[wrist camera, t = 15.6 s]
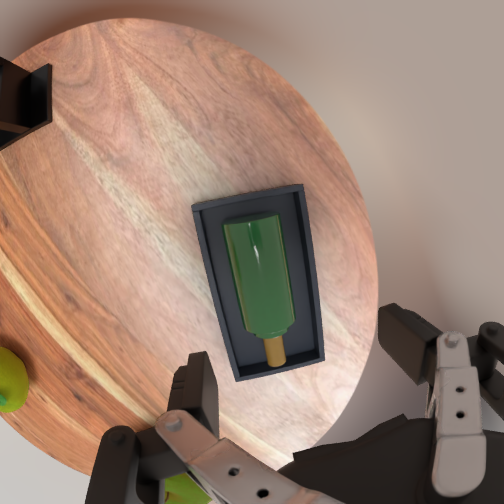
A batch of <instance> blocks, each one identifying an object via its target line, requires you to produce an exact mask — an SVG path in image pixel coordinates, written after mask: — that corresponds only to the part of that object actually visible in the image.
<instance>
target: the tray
mask: <svg viewBox="0 0 504 504" xmlns="http://www.w3.org/2000/svg"><path fill="white" fill-rule="evenodd" d="M191 208H192V212H193V217H194V222H195V226H196V231H197V235H198V240H199V244H200V248H201V253H202V257H203V261H204V265H205V270H206V274H207V278H208V282H209V286H210V290H211V294H212V298H213V302H214V306H215V309H216V313H217V317H218V321H219V325H220V328H221V332H222V336H223V339H224V343H225V346H226V350H227V354H228V357H229V361H230V364H231V367H232V371H233V374H234V378H235V381H236V382H239V381H244V380H249V379H254V378H259V377H263V376H268V375H272V374H276V373H281V372H285V371H289V370H293V369H297V368H300V367H304V366H308V365H311V364H315V363H319V362H322V361H325V353H324V340H323V329H322V318H321V309H320V299H319V290H318V282H317V273H316V265H315V258H314V250H313V243H312V236H311V229H310V223H309V216H308V210H307V204H306V198H305V192H304V186H303V184H294V185H288V186H282V187H277V188H271V189H266V190H260V191H255V192H249V193H244V194H239V195H234V196H229V197H224V198H219V199H215V200H210V201H205V202H201V203H196V204H193V205H192V206H191ZM262 212H279V213H280V217H281V223H282V229H283V235H284V241H285V247H286V253H287V259H288V265H289V272H290V278H291V285H292V291H293V298H294V305H295V312H296V320H295V322H294V323H293V324H292V325H291V326H289V329H288V331H287V332H286V333H285V334H283V335H282V336H283V342H284V348H285V354H286V362H285V363H284V364H283V365H281V366H277V367H273V366H270V365H269V364H268V363H267V358H266V353H265V349H264V344H263V339H261V338H258V337H256V336H255V335H254V334H253V333H250V332H248V331H246V330H245V329H244V328H243V325H242V320H241V316H240V312H239V307H238V303H237V298H236V294H235V290H234V285H233V281H232V276H231V271H230V267H229V262H228V258H227V253H226V248H225V244H224V239H223V234H222V229H221V223H222V222H224V221H226V220H229V219H233V218H236V217H240V216H245V215H250V214H256V213H262Z"/></svg>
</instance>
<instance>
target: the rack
mask: <svg viewBox="0 0 504 504" xmlns="http://www.w3.org/2000/svg"><path fill="white" fill-rule="evenodd" d="M51 80H52V65H50V64H49V63H48V64H46V65H44V66H42V67H41V68H39V69H37V70H35V71H34V72H32V73H30V72H28V71H26V70H25V69H23V68H21V67H19V66H17V65H15V64H13V63H12V62H10V61H8V60H6V59H4V58H2V57H0V151H1V150H2V149H4V148H5V147H7V146H9V145H10V144H12V143H14V142H15V141H17V140H19V139H20V138H22V137H24V136H26V135H28V134H29V133H31V132H33V131H35V130H37V129H39V128H41V127H42V126H44V125H46V124H48V123H50V122H52V105H51Z"/></svg>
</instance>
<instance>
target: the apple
mask: <svg viewBox="0 0 504 504" xmlns="http://www.w3.org/2000/svg"><path fill="white" fill-rule="evenodd" d="M212 500H213V499H212V498H211V497H210V496H208V495H207V494H206V493H205V492H204V491H203V490H202V489H201V488H200V487H199V486H198V485H197V484H196V483H195V482H194V481H193V480H192V479H191V478H190V477H189V476H188V475H187V474H186V473H182V474H179V475H176V476H173V477H169V478H166V479H165V499H164V504H208V503H209V502H210V501H212Z"/></svg>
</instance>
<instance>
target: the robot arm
mask: <svg viewBox="0 0 504 504" xmlns="http://www.w3.org/2000/svg"><path fill="white" fill-rule="evenodd" d="M378 339H379V343H380V345H381V347H382V348H383V349H384V350H385V351H386V352H387V353H388V354H389V355H390V356H391V357H392V359H393V360H394V361H395V362H396V363H397V364H398V365H399V366H400V367H401V368H402V369H403V370H404V371H405V373H407V375H408V376H409V377H410V378H411V379H412V380H413V381H414V382H415V383H416V384H417V385H420V384H422V383H424V382H426V381H427V382H428V383H429V385H428V389H427V401H426V410H425V418H416V419H410V420H408V419H407V418H406V417H405V415H404V414H401V415H399V416H397V417H395V418H392V419H390V420H388V421H386V422H383V423H381V424H379V425H377V426H376V427H374V428H373V429H372V430H370V431H369V432H367V433H365V434H364V435H362V436H361V437H359V438H358V439H356V440H354V441H349V442H342V443H334V444H326V445H320V446H317V447H313V448H310V449H306V450H302V451H299V452H295V453H293V458H294V461H292V462H290V463H288V464H287V465H285V466H283V467H282V468H280V469H279V470H277V471H275V470H273V469H272V468H270V467H269V466H267V465H265V464H264V463H262V462H261V461H259V460H258V459H256V458H255V457H253V456H252V455H250V454H249V453H248V452H246V451H245V450H243V449H242V448H240V447H239V446H238V445H236V444H235V443H234V442H232V441H231V440H229V439H228V438H223V439H219V406H218V385H217V381H216V377H215V375H214V372H213V369H212V366H211V363H210V360H209V357H208V354H207V352H206V351H203V352H197V353H191V354H189V358H188V364H187V365H186V366H180V367H179V368H178V370H177V371H176V372H175V374H174V377H173V383H172V387H171V392H170V397H169V402H168V407H167V412H166V413H164V414H162V415H161V416H160V417H159V418H158V419H157V421H156V423H155V427H153V428H150V429H147V430H144V431H140V432H137V433H135V432H134V431H133V430H132V429H131V428H130V427H128V426H123V425H120V426H115V427H112V428H110V429H109V430H107V431H106V432H105V433H104V435H103V436H102V439H101V442H100V446H99V449H98V453H97V456H96V460H95V463H94V467H93V471H92V475H91V479H90V483H89V487H88V491H87V495H86V500H85V504H164V499H165V479H166V478H169V477H173V476H176V475H179V474H182V473H186V474H187V475H188V476H189V477H190V478H191V479H192V480H193V481H194V482H195V483H196V484H197V485H198V486H199V487H200V488H201V489H202V490H203V491H204V492H205V493H206V494H207V495H208V496H210V497H211V498H212V499H213V500H214V501H215V502H216V503H217V504H504V433H501V432H495V431H490V430H483V429H482V415H481V401H480V396H481V397H482V398H483V399H484V400H485V401H486V402H487V403H488V404H489V405H490V406H491V407H492V408H493V410H494V411H495V412H496V413H497V414H498V415H499V416H500V417H501V418H502V419H503V420H504V376H503V375H502V374H501V373H500V372H499V371H497V370H496V369H495V368H496V365H497V362H498V360H499V361H500V362H501V363H502V364H503V365H504V326H503V325H501V324H499V323H496V322H486V323H484V324H482V325H481V326H480V328H479V333H478V335H476V336H472V337H468V338H466V337H465V336H464V335H463V334H461V333H459V332H454V331H450V332H445V333H443V332H441V331H440V330H439V329H437V328H436V327H435V326H433V325H432V324H430V323H429V322H427V321H426V320H425V319H424V318H421V316H419V315H418V314H417V313H415V312H413V311H410V310H407V309H402V308H401V307H400V306H398V305H397V304H395V303H391V304H388V305H386V306H383V307H380V308H379V310H378Z"/></svg>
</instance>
